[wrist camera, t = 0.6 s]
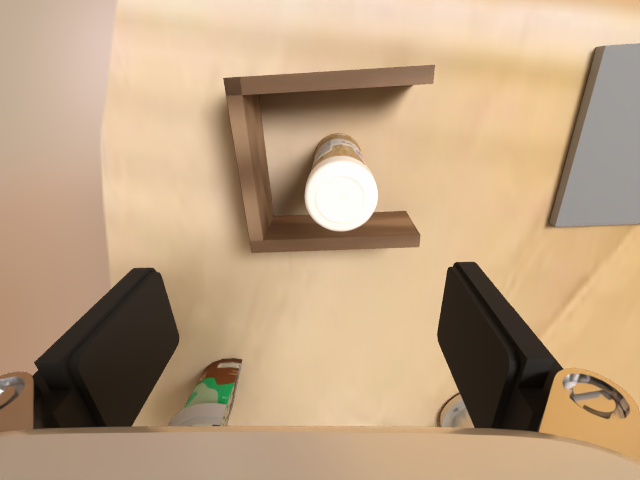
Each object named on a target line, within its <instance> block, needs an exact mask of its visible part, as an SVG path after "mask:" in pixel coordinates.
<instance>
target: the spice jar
mask: <svg viewBox="0 0 640 480" xmlns="http://www.w3.org/2000/svg"><path fill="white" fill-rule="evenodd" d="M304 198H305V205H306V208H307V211H308V212H309V214H310V216H311V217H312V219H313V220H314V221H315V222H316V223H318V224H319V225H320V226H322V227H324V228H326V229H329V230H332V231H349V230H352V229H355V228H357V227H359V226H361V225H362V224H364V223H365V222H366V221H367V220H368V219H369V218H370V217H371V215H372V214H373V212H374V210H375V208H376V205H377V200H378V190H377V186H376V182H375V180H374V177H373V175H372V173H371V172H370V170H369V169H368V168H367V167H366V165H365V163H364V160H363V157H362V154H361V151H360V148H359V146H358V144H357V142H356V141H355V140H354V139H353V138H351V137H350V136H348V135H345V134H340V133H336V134H331V135H329V136H327V137H325V138H324V139H323V140H322V141H321V142H320V143H319V145H318V146H317V148H316V152H315V158H314V162H313V166H312V170H311V173H310V175H309V177H308V179H307V183H306V188H305V196H304Z"/></svg>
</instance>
